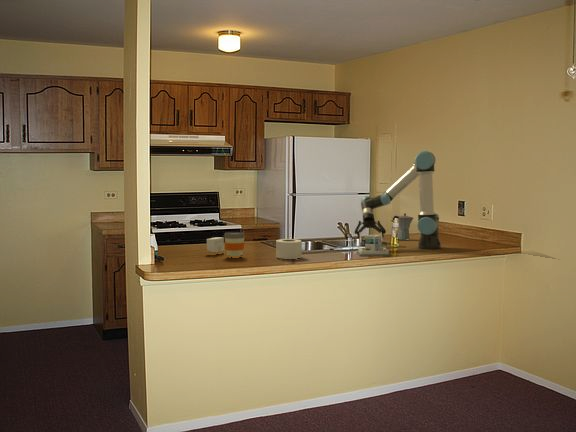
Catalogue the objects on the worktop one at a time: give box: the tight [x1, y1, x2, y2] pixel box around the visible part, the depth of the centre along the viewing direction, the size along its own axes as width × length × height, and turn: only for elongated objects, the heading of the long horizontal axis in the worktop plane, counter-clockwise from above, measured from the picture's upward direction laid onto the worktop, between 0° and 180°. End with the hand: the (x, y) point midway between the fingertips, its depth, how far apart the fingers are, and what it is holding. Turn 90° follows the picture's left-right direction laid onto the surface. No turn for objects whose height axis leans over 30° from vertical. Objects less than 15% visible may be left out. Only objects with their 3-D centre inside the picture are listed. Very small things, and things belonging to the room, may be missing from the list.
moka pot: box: [392, 212, 414, 241], centre depth 468 cm, size 10×15×20 cm, turn 78°
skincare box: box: [206, 236, 225, 252], centre depth 395 cm, size 10×6×10 cm, turn 152°
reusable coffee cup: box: [223, 231, 246, 256], centre depth 381 cm, size 13×13×15 cm
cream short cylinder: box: [275, 238, 303, 260], centre depth 379 cm, size 16×15×11 cm
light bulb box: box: [364, 234, 382, 251], centre depth 395 cm, size 11×7×11 cm, turn 148°
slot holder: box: [356, 246, 391, 257], centre depth 395 cm, size 19×19×3 cm
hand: (371, 241), depth 402 cm, fingers open, 13 cm apart
